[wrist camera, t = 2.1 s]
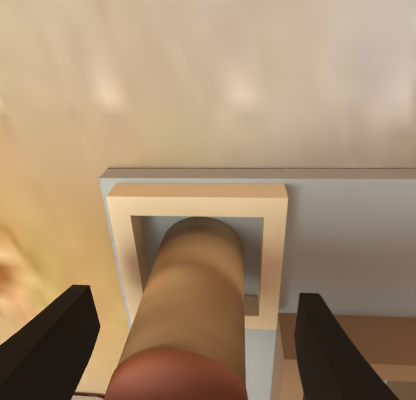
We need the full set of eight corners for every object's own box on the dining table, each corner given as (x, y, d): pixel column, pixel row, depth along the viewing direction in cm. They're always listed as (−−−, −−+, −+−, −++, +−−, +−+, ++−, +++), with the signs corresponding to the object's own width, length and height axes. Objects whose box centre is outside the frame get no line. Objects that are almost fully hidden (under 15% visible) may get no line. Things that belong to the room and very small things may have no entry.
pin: (164, 282, 16) (115, 452, 9) (155, 214, 14) (89, 367, 8) (243, 285, 15) (247, 463, 9) (245, 215, 13) (251, 377, 7)
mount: (146, 377, 21) (130, 439, 18) (107, 168, 14) (70, 208, 11) (398, 391, 19) (429, 461, 16) (484, 168, 13) (561, 214, 10)
